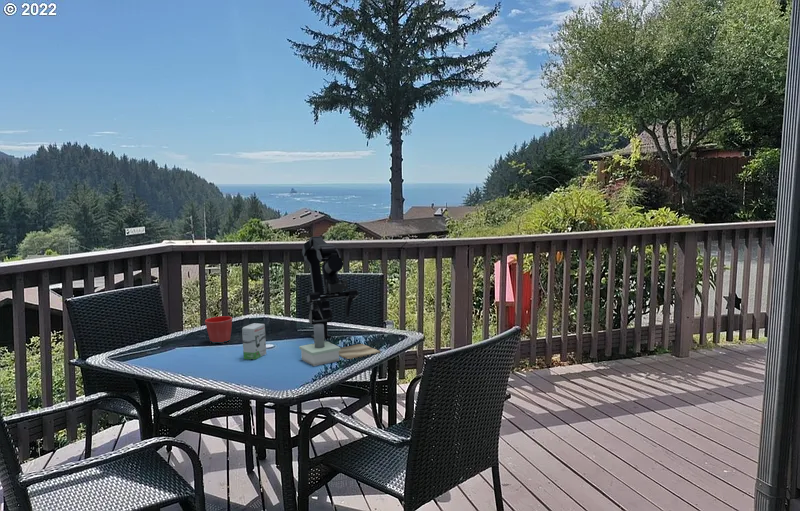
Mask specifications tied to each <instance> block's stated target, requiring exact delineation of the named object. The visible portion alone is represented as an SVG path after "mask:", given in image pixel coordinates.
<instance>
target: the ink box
mask: <svg viewBox="0 0 800 511" xmlns="http://www.w3.org/2000/svg"><path fill="white" fill-rule="evenodd" d="M241 330H242V331H241V332H242V333H241V335H242V349H243V350H242V352H243V360H251V359H253V360H254V359H255V360H257V359H259V358H261V357H263V356H265V355H267V341H266V338H267V337H266V325H265V323H257V322H256V323H255V322H254V323H250V324H248V325H245V326H243V327H242V328H241ZM253 360H252V361H253ZM255 360H254V361H255Z"/></svg>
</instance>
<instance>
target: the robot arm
mask: <svg viewBox="0 0 800 511" xmlns="http://www.w3.org/2000/svg"><path fill="white" fill-rule="evenodd" d="M301 254H302V256H303V258H304V263H306V264H307V265H308V267H309V273H310V274H309V275H310V281H311V289H312V292H310V293H309V294H308V295H307V296H306V301H307V303H309V304H311V305H310V310H309V314H308V323H310V324H311V325H313V326H312V327H314V325H315V324H324V339H327V338H331V337H332V335H330V334H328V323H332V322H333V321H332V319H333V310H332V307H330V301H329V300H328V299H337V298H345V300H344V304H345V305H344V306H345V315H346V318H349V316H350V311H351V306H352V302H353V301H354V300H356V298H358V297H359V296H360V295H359V290H358V289H357V288H351V289H348V287H349V284H348V280H347V279H341V280H340V277H339V272H340V271H341V270H342V269H343V268H344V261H343V260H342V254H341V253H340V251H339V249H338V247H337V246H336V245H334V244H330V243H329V244H328V243H327V242H326V241H325V240H324V239H323V236H320V235H319V236H310V237H309V238H308V240H307V241H305V243H304V244H303V245H302V251H301ZM321 262H323V263H322V265H321ZM344 290H345V291H344ZM310 337H311V338H312V339H314V334H311V335H310Z"/></svg>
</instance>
